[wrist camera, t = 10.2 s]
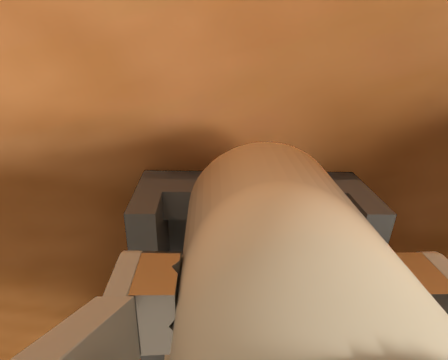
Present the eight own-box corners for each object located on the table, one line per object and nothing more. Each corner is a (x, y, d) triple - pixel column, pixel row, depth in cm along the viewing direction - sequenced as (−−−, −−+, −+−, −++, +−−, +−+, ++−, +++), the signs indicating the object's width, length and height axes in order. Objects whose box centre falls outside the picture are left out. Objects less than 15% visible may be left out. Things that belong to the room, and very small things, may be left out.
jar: (349, 140, 10) (853, 518, 2) (323, 271, 13) (529, 699, 4) (184, 137, 10) (81, 553, 2) (186, 271, 12) (142, 729, 4)
